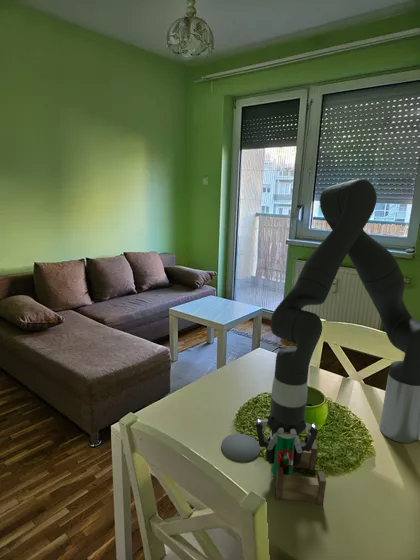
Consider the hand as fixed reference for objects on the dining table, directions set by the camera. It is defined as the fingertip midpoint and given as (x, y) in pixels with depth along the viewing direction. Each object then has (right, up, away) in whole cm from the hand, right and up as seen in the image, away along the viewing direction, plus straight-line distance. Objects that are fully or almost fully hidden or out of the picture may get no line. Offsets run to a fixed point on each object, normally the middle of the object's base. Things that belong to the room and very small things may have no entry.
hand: (282, 462), depth 83 cm
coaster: (-9, -2, +11) cm, 14 cm away
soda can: (0, -3, +1) cm, 3 cm away
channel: (+3, -5, +1) cm, 6 cm away
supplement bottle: (+12, +6, +49) cm, 51 cm away
